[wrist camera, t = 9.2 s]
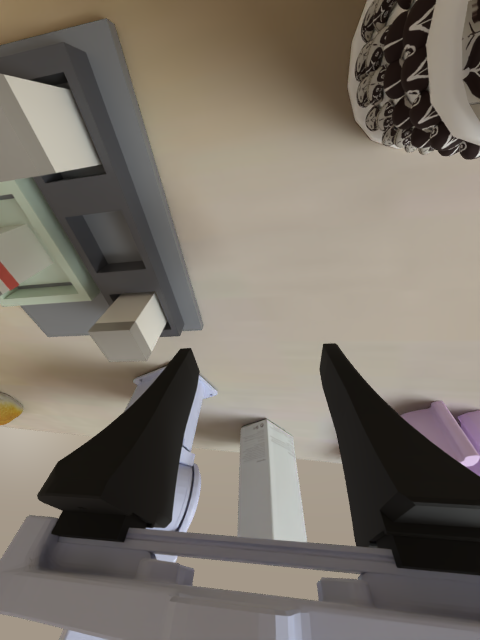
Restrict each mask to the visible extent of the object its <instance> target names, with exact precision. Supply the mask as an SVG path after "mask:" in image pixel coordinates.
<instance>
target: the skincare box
mask: <svg viewBox="0 0 480 640" xmlns="http://www.w3.org/2000/svg"><path fill="white" fill-rule="evenodd" d="M238 506H239V507H238V537H248V538H260V539H273V540H285V541H297V542H307V537H306V530H305V523H304V515H303V508H302V502H301V493H300V487H299V479H298V472H297V464H296V457H295V449H294V442H293V436H291V435H290V434H288V433H287V432H285V431H284V430H282V429H280V428H279V427H277V426H276V425H275V424H273V423H271V422H270V421H269V420H267V419H265V420H262V421H260V422H257V423H253V424H249V425H246V426H243V427H241V434H240V467H239V503H238Z"/></svg>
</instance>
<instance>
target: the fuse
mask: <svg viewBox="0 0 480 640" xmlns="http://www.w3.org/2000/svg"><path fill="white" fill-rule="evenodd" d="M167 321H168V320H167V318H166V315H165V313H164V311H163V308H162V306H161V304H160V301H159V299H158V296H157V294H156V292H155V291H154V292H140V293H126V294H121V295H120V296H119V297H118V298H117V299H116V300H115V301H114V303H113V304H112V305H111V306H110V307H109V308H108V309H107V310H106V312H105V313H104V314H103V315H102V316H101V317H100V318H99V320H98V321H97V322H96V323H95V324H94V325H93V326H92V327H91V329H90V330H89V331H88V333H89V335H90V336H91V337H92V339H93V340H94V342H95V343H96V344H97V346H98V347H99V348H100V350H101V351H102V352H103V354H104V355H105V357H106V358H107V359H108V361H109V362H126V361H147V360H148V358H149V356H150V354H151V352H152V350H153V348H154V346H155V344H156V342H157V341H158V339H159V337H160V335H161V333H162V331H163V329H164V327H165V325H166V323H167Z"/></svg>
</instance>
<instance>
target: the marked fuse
mask: <svg viewBox="0 0 480 640" xmlns="http://www.w3.org/2000/svg"><path fill="white" fill-rule="evenodd" d="M51 264H53V261H52V260H51V258H50V257H49V255H48V254H47V252H46V251H45V249H44V248H43V247H42V245H41V244H40V242H39V241H38V239H37V238H36V236H35V235H34V233H33V232H32V230H31V229H30V228H29V226H28V225H27V224H21V225H13V226H5V227H0V296H1V295H2V294H4V293H6V292H7V291H10V290H12V289H14V288H16V287H17V286H19V284H20V283H22V282H23V281H25V280H27V279H28V278H30V277H32V276H33V275H35V274H36V273H38V272H40V271H41V270H43V269H45V268H46V267H48V266H49V265H51Z"/></svg>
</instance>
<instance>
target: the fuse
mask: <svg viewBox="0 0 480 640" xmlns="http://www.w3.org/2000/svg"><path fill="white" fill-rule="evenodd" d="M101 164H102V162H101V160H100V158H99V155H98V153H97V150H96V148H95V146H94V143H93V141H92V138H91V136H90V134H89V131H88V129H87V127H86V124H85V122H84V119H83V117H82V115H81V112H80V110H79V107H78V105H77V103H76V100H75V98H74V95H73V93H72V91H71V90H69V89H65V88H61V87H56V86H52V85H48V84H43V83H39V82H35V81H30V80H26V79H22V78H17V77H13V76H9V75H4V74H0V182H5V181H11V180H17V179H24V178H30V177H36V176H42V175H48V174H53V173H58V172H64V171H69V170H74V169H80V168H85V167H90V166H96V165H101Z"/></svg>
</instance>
